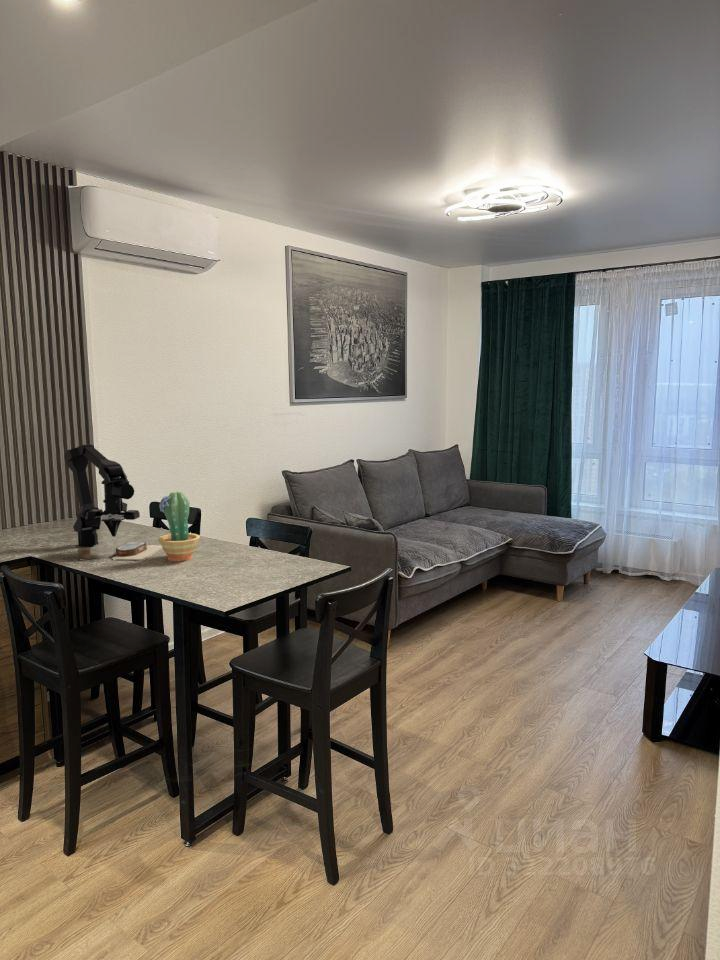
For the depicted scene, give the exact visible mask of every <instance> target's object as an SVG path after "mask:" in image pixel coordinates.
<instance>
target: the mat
mask: <svg viewBox="0 0 720 960" xmlns="http://www.w3.org/2000/svg"><path fill="white" fill-rule="evenodd" d="M159 550H160V551H161V550H163V548H162V545H159V544H158V545H156V544H155V545H152V544H151V545H150V544H148V545H147V550H145V551H143V552H141V553H139V554H137V555H134V556H126V557H121V556H116V555H115V556H113V557H112V558H111V560H112V559H116V560H115V561H130V560H139V561H138V562H140V561H141V562H143V561H145V560H147V559H149V558H150V557H151V556H154V555H155V554H157V553H159V552H160V551H159ZM156 552H157V553H156Z"/></svg>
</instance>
